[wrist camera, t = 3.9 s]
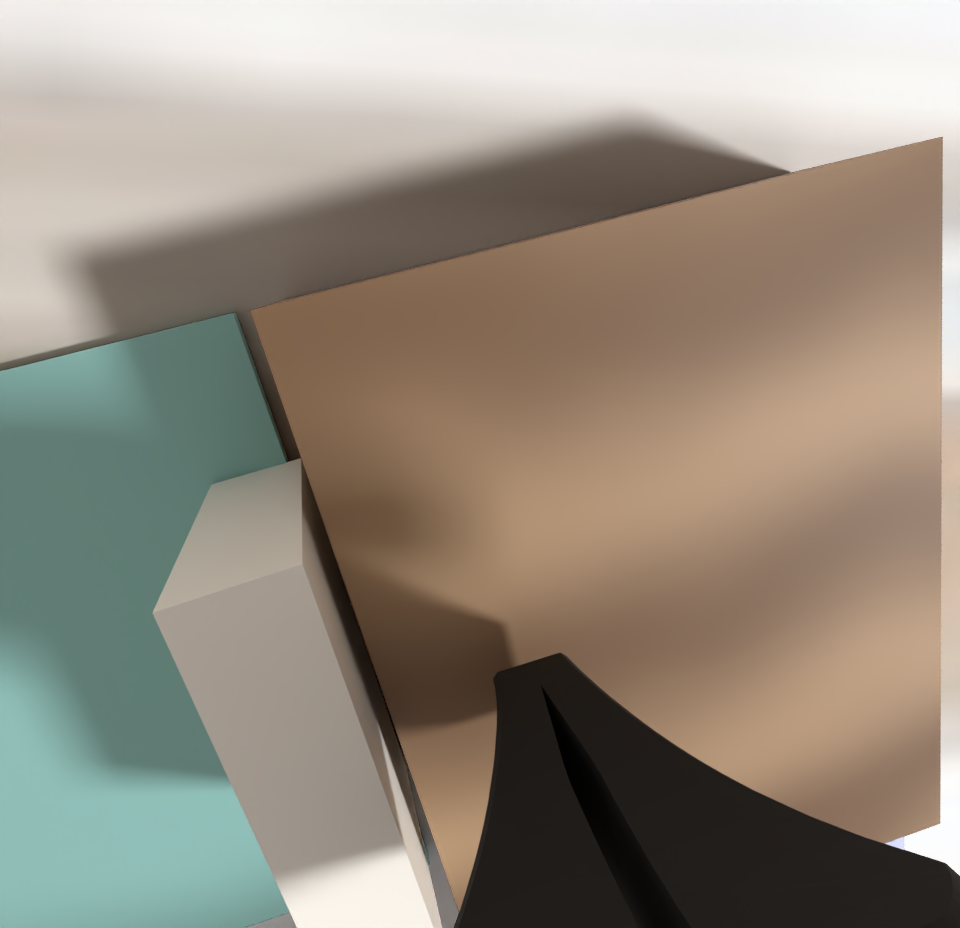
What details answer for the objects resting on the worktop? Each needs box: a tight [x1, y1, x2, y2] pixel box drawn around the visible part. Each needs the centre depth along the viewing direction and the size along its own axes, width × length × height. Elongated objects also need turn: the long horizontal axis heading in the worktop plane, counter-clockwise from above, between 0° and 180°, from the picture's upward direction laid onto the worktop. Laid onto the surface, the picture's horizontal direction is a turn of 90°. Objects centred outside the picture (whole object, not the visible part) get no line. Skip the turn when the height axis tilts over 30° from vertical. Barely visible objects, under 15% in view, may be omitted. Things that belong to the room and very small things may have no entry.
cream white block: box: [153, 458, 442, 928], centre depth 13 cm, size 9×6×2 cm
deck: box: [250, 137, 943, 911], centre depth 15 cm, size 16×12×4 cm
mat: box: [0, 312, 429, 928], centre depth 15 cm, size 16×11×1 cm
